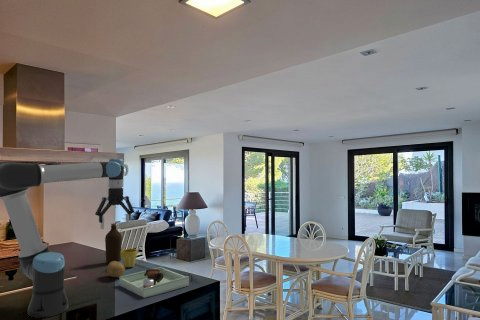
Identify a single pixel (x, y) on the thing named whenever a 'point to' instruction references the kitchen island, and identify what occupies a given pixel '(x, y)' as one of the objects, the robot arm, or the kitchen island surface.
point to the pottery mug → (154, 275)
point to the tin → (148, 283)
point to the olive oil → (113, 244)
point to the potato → (115, 269)
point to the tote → (165, 285)
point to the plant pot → (129, 257)
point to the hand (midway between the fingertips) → (115, 227)
